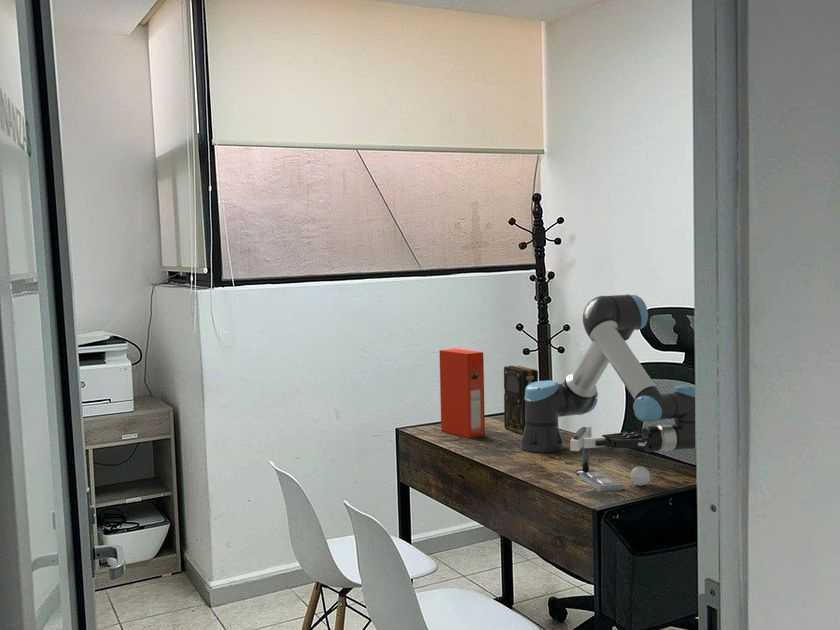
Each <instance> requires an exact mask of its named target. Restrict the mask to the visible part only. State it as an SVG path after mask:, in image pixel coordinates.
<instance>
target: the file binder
mask: <svg viewBox="0 0 840 630" xmlns="http://www.w3.org/2000/svg"><path fill="white" fill-rule="evenodd" d="M484 361H485V360H484V352H483V351H477V350H469V349H468V350H467V349H460V348H449V349H448V348H447V349H441V350H439V383H440V384H439V385H440V386H439V387H440V388H439V390H440V392H439V393H440V431H441V432H443V433H446V434H447V433H448V434H450V435H455V436H460V437H463V438H467V439H473V438H479V437H484V436H486V425H485V424H486V423H485V417H486V416H485V375H484V373H485V371H484V370H485V369H484V367H485V365H484Z"/></svg>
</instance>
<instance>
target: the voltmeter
mask: <svg viewBox="0 0 840 630" xmlns="http://www.w3.org/2000/svg"><path fill="white" fill-rule="evenodd" d="M538 381H539V372H538V370H537V369H533V368H528V367H524V366H520V365H509V366H508V365H507V366H506V365H505V366H504V367H503V389H504V390H503V391H504V393H503V406H504V407H503V410H504V411H503V412H504V414H503V416H504V419H503V420H504V423H503V424H504V426H503V427H504V428H505V429H506V430H509V431H511V432H514V433H516V434H519V435H521V436H522V435H523V432H524V429H525V389H526V387H527V386H528V385H529V384H531V383H534V382H538Z"/></svg>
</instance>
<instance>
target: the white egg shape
mask: <svg viewBox="0 0 840 630" xmlns="http://www.w3.org/2000/svg"><path fill="white" fill-rule="evenodd" d="M629 475H630V479H631V482H632V483H633V484H634V485H636V486H640V487H641V486H645V485H647V484H648V483H649V481H650V480H651V475H650V472H649V470H648V469H647V468H646V467H644V466H641V465H640V466H636V467H634V468H632V470H631V472H630V474H629Z"/></svg>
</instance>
